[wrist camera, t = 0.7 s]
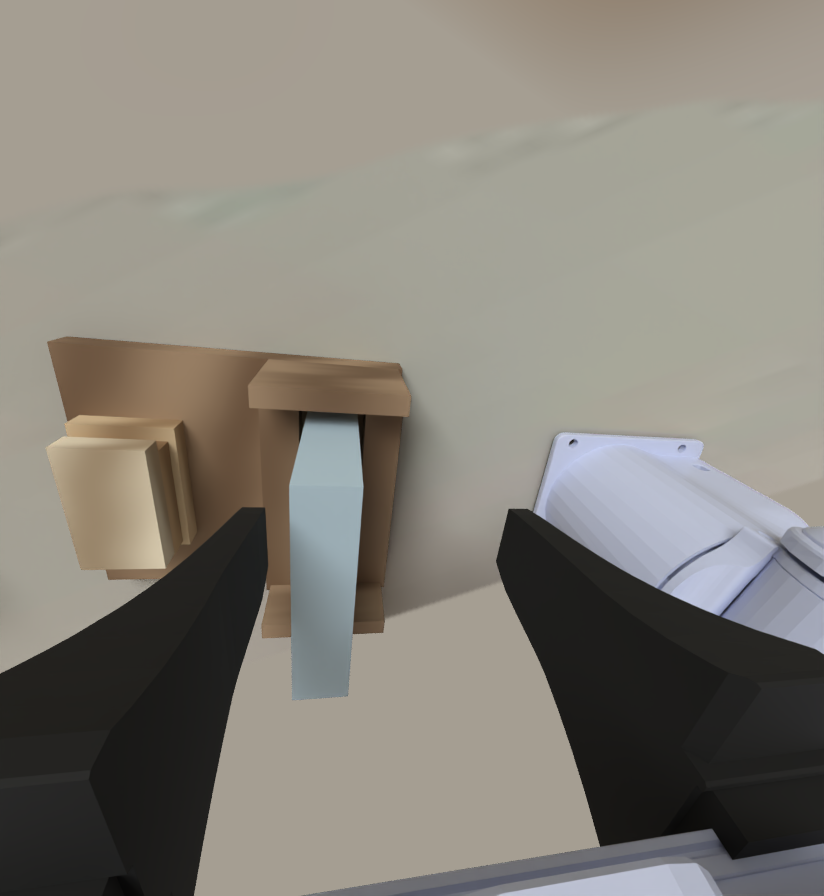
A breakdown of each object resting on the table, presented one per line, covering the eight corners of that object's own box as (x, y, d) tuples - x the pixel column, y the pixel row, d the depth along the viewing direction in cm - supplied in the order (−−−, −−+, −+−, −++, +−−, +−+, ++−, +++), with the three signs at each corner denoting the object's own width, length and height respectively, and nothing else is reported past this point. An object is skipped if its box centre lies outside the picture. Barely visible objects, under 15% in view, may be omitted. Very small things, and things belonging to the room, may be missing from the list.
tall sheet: (356, 398, 18) (363, 486, 11) (346, 554, 22) (347, 696, 15) (311, 395, 18) (289, 485, 11) (309, 554, 22) (292, 700, 14)
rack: (399, 363, 19) (416, 396, 14) (378, 560, 24) (387, 632, 19) (66, 336, 16) (-44, 366, 12) (120, 563, 21) (57, 647, 17)
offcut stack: (182, 420, 17) (153, 449, 15) (197, 531, 20) (174, 573, 17) (79, 415, 17) (28, 444, 14) (107, 531, 19) (68, 575, 16)
